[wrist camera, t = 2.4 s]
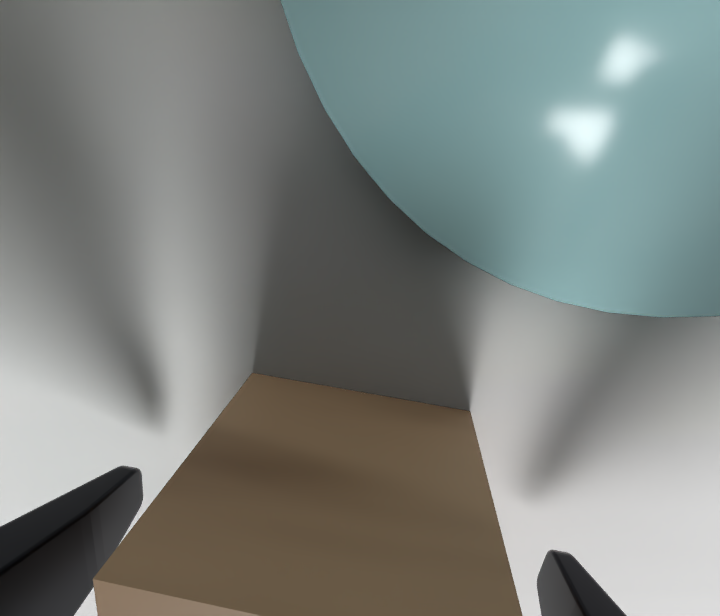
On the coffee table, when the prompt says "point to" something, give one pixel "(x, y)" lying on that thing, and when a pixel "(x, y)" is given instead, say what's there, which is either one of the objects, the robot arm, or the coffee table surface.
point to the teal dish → (539, 136)
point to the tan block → (318, 515)
